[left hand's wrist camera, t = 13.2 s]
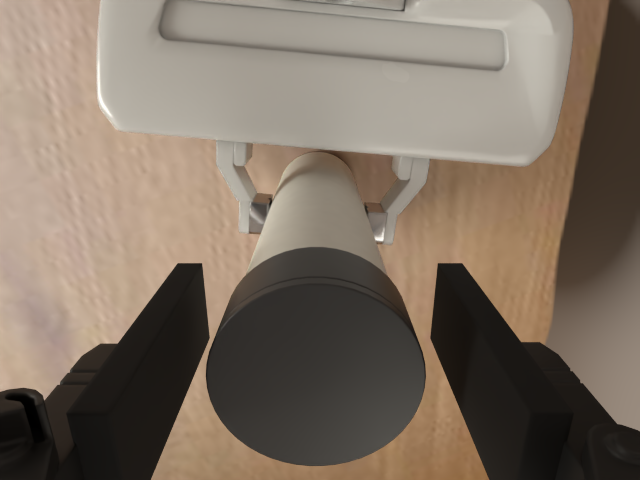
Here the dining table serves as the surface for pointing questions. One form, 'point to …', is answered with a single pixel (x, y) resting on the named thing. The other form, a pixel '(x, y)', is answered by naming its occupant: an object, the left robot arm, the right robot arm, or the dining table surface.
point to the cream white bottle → (317, 212)
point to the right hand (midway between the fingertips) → (316, 236)
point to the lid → (315, 359)
